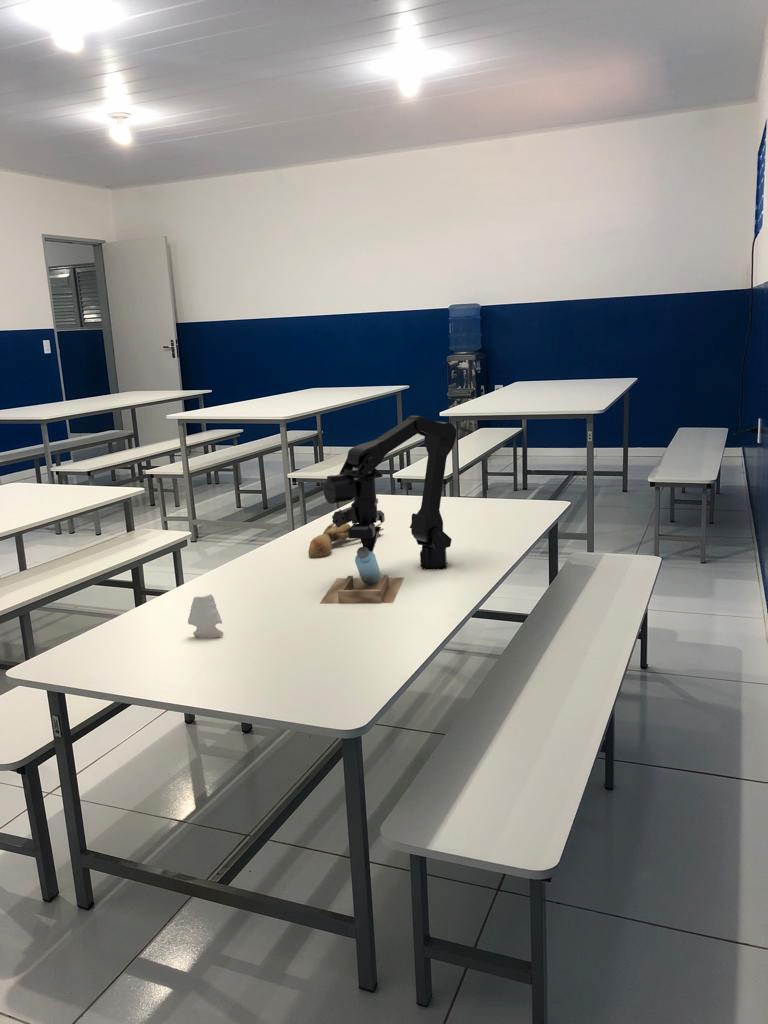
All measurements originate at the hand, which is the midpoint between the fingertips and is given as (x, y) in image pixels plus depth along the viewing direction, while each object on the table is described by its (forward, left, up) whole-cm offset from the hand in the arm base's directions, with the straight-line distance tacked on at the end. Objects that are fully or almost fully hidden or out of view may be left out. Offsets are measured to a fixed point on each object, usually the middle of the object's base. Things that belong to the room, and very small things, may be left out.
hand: (369, 556), depth 215 cm
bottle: (0, 0, -5) cm, 5 cm away
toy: (+18, -40, -8) cm, 45 cm away
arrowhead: (+31, +36, -8) cm, 48 cm away
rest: (+1, +6, -8) cm, 9 cm away
